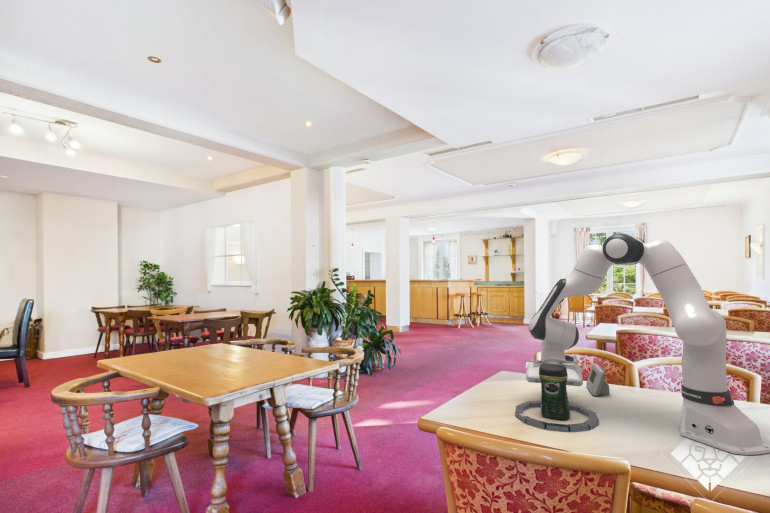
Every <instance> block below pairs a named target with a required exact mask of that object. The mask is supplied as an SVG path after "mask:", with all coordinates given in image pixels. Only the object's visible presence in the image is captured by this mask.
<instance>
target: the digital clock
mask: <svg viewBox="0 0 770 513" xmlns="http://www.w3.org/2000/svg"><path fill="white" fill-rule="evenodd" d="M606 376H607V373H606V371H605V370H604V369H603V368H602V367H601V366H600V365H599V364H598V363H594V364H593V365H592V366H591V369H590V373H589V374H588V378H587V381H586V384H585V385H586V387H587V389H588V390H589V392H590V393H591V394H592V395H593V396H594V397H599V396H610V394H611V393H610V385H609V383H608V382H607V381H606Z"/></svg>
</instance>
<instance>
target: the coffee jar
mask: <svg viewBox="0 0 770 513" xmlns="http://www.w3.org/2000/svg"><path fill="white" fill-rule="evenodd" d="M539 378H540V380H541V383H540V385H541V388H540V389H541V393H540V394H541V395H540V400H541V407H540V414H541V416H543V417H545V418H548V419H555V420H567V419H570V416H571V410H570V408H569V403H570V402H569V398H568V391H567V385H566V381H567V378H568V374H567V369H566V366H565V365H558V364H546V363H543V364H541V365H540V368H539Z"/></svg>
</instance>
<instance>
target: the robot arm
mask: <svg viewBox="0 0 770 513" xmlns="http://www.w3.org/2000/svg"><path fill="white" fill-rule="evenodd" d="M637 264H639V265H641V266H643V267H644V269H645V271H646V272H647V274H648V276H649V277H650V279H651V280H652V283H653V284H654V286H655V288H656V290H657V291H658V293H659V296H661V298H662V300H663V303H664V306H665V308H666V311H667V313H668V316H669V319H670V320H671V323H672V325H673V328H674V330H675V333H676V335H677V337H678V338H679V340H681V341H682V354H681V373H682V384H681V389H680V390H681V391H680V392H681V397H682V398H683V400H682V411H681V419H680V424H679V427H678V428H679V435H680V436H681V437H685V438H688V439H689V440H690V439H691V440H692V441H696V442H698V443H702V444H705V445H707V446H710V447H713V448H715V449H719V450H722V451H725V452H727V453H730V454H733V455H735V454H736V455H743V456H755V455H756V456H757V455H765V454H769V453H770V443H767V442H765V441H763V440H762V436H761V431H760V429H759V427H758V425H757V424H756V423H755V422H754V421H753V420H752V419H750V417H748V416H747V415H746V414H745V413H744V412H743V411H742V410H741V409H740V408H739V407H737V405H735V402H734V401H736V400H737V401H738V396H737V395H731V392H730V390H729V389H728V378H727V324H726V319H725V318H724V316H722V314H721V313H719V312H718V311H717V310H715V309H713V308H711V307H710V304H709V303H708V301H707V299H706V297H705V295H704V292H703V289H702V286H701V285H700V283H699V281H698V279H697V278H696V277H695V274H694V273H693V271H692V270H691V268H690V267H689V265H688V264H687V262H686V260H685V259H684V257H683V256H682V254H680V252H679V250H677V249H676V247H675V246H674V245H673V244H672V243H671V242H670V241H668V240H666V239H655V240H652V241H649V242H645V241H644V240H643V239H641V238H640V237H638V236H635V235H633V234H629V233H622V232H621V233H620V232H619V233H616V234H615V233H614V234H612V235H610V236H608V237H607V238H606V239H605V240H604V242H603V244H602V245H600V244H596V243H595V244H594V243H593V244H589V245H587V246H585V247H584V248H583V250H582V251H581V253H580V254H579V256H578V259H577V260H576V262H575V264H574V267H573V269H572V270H571V272H570V273H569V274H568V275H567V276H566V277H564V278H560V279H559V280H558V281H557V282H556V283H555V285H554V286H553V287H552V289H551V290H550V292H549V293H548V295H547V297H546V298H545V299H544V301H543V303H542V304H541V306H540V307H539V308H538V310H537V312H536V313H535V314H534V315H533V317H532V318H531V319H530V321H529V324H528V330H529V333H530V335H531V336H532V337H533V339H535V340H538V341H539V340H540V341H541V342H540V346H541V355H540V358H541V359H540V360H538V359H536V360H535V359H530V360H527V361H526V362H525V366H524V367H525V369H526V371H525V379H526V381H527V383H532V384H533V383H534V384H541V380H540V378H539V368H540V365H541V364H543V363H546V364H558V365H565V366H566V369H567V374H568V378H567V381H566V386H568V387H569V386H572V387H582V385H583V384H584V377H583V373H582V370H581V367H580V365H579V362H578V359H577V357H575V356H570V355H568V354H565V351H568V350H570V349H572V348H573V347H575V346H576V345H577V344H578V342H579V338H580V333H579V329H578V327H577V326H576V324H574V323H571V322H568V321H565V320H561V319H557V318H555V317H552V314H554V312H555V310H556V308H557V307H558V305H559V304H560V302H561V301H562V300H563V299H566V298H571V297H584V296H589V295H593V294H594V293H596V292H598V290H599V289H600V288H601V286H602V284H603V282H604V279H605V277H606V276H607V273H608V271H609V269H610V268H611V267H612V266H614V265H621V266H633V265H637Z"/></svg>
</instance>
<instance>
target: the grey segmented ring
mask: <svg viewBox="0 0 770 513" xmlns="http://www.w3.org/2000/svg"><path fill="white" fill-rule="evenodd" d="M568 403H569V408H570V411H574V410H575V411H574V412H578V413H580V414H581V415H583V414H584V416H585V415H586V417H587V416H588V419H587V420H585V421H584V422H578V423H568V424H565V423H556V422H555V423H554V422H547V421H543V420H540V419H535V418H532V417H530V416H529V415H528V414H526V413H524V410H525V411H527V410H530V409H531V408H541V399H540V400H531V401H525V402H522V403H520V404H517V405H516V406H515V411H514V412H515V413H514V414H515V418H517V419H518V420H519V421H521V422H523V423H524V424H526V425H529V426H531V425H532V427H535V428H539V429H541V428H542V430H546V431H555V432H564V433H575V432H576V433H577V432H586V431H591V430H593V429H594V428H596V427H597V426H599V425H600V424H599V423H600V419H599V417H598V414H597V413H596V412H595V411H593V410H591V409H588V408H586V407H585V406H582V405H580V404H574V403H570V402H568Z"/></svg>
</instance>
